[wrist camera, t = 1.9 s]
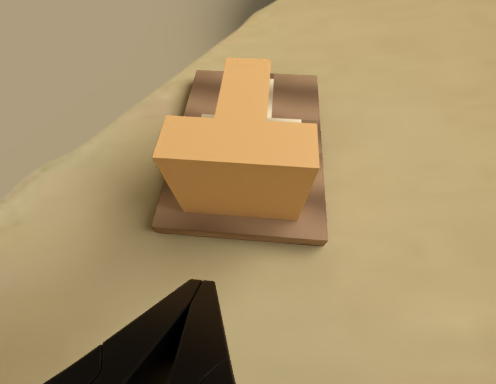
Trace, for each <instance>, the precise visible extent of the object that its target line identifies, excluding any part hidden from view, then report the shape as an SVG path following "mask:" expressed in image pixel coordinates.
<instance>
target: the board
mask: <svg viewBox="0 0 496 384" xmlns="http://www.w3.org/2000/svg"><path fill="white" fill-rule="evenodd" d="M223 74H224V71H202V70H197V71H196V75H195V78H194V81H193V85H192V88H191V92H190V95H189V99H188V102H187V105H186V109H185V112H184V116H187V117H206V118H214V117H215V112H216V107H217V102H218V97H219V93H220V88H221V83H222V78H223ZM267 121H278V122H296V123H315V124H317V132H318V148H319V165H320V169H319V171H318V173H317V176H316V178H315V181H314V183H313V185H312V188H311V190H310V193H309V195H308V197H307V200H306V202H305V204H304V207H303V209H302V212H301V214H300V216H299V219H298V221H295V220H281V219H268V218H255V217H242V216H229V215H216V214H203V213H190V212H183V210H182V208H181V206H180V205H179V203H178V201H177V199H176V198H175V196H174V194H173V193H172V191H171V189H170V187H169V186H168V184H167V182H166V181H164V184H163V188H162V191H161V194H160V198H159V201H158V205H157V208H156V212H155V215H154V218H153V222H152V225H151V227H152V228H153V229H154V230H155V231H156V232H158V233H170V234H182V235H194V236H207V237H219V238H231V239H244V240H256V241H268V242H280V243H293V244H305V245H317V246H324V245H325V244H326V242H327V241H328V233H327V218H326V203H325V189H324V174H323V159H322V144H321V130H320V115H319V100H318V85H317V76H314V75H291V74H270V85H269V99H268V113H267Z"/></svg>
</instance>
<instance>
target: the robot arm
mask: <svg viewBox="0 0 496 384" xmlns="http://www.w3.org/2000/svg"><path fill="white" fill-rule="evenodd" d="M43 384H236V383H235V379H234V374H233V370H232V365H231V360H230V356H229V351H228V346H227V341H226V336H225V331H224V326H223V320H222V315H221V310H220V305H219V300H218V295H217V290H216V285H215V282H214V281H206V280H204V281H202V280H195V279H190V280H189V281H187V282H186V283H185V284H183V285H182V286H180V287H179V288H178V289H176V290H175V291H174V292H172V293H171V294H169V295H168V296H167V297H165V298H164V299H162V300H161V301H160V302H158V303H157V304H156V305H154V306H153V307H151V308H150V309H149V310H147V311H146V312H145V313H143V314H142V315H140V316H139V317H138V318H136V319H135V320H134V321H132V322H131V323H129V324H128V325H127V326H125V327H124V328H123V329H121V330H120V331H118V332H117V333H116V334H114V335H113V336H111V337H110V338H109V339H107V340H106V341H105V342H103V344H102V345H99V346H98V347H96V348H95V349H93V350H92V351H91V352H89V353H88V354H86V355H85V356H84V357H82V358H81V359H79V360H78V361H76V362H75V363H74V364H72V365H71V366H69V367H68V368H66V369H65V370H63V371H62V372H60V373H59V374H57V375H56V376H54V377H53V378H51V379H50V380H48V381H46V382H45V383H43Z"/></svg>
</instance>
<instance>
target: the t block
mask: <svg viewBox="0 0 496 384" xmlns="http://www.w3.org/2000/svg"><path fill="white" fill-rule="evenodd" d="M270 70H271V60H270V59H246V58H227V59H226V64H225V69H224V74H223V78H222V83H221V88H220V93H219V97H218V102H217V107H216V112H215V117H214V118H206V117H187V116H169V115H166V118H165V121H164V124H163V127H162V130H161V133H160V136H159V139H158V141H157V144H156V147H155V150H154V153H153V156H152V158H153V160H154V162H155V163H156V165H157V167H158V168H159V170H160V172H161V174H162V175H163V177H164V179H165V181H166V182H167V184H168V186H169V187H170V189H171V191H172V193H173V194H174V196H175V198H176V199H177V201H178V203H179V205H180V206H181V208H182V210H183V212H190V213H203V214H216V215H229V216H242V217H255V218H268V219H281V220H295V221H298V219H299V216H300V214H301V212H302V209H303V207H304V204H305V202H306V200H307V197H308V195H309V193H310V190H311V188H312V185H313V183H314V181H315V178H316V176H317V173H318V171H319V169H320V165H319V148H318V132H317V124H315V123H296V122H278V121H267V113H268V99H269V85H270Z"/></svg>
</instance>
